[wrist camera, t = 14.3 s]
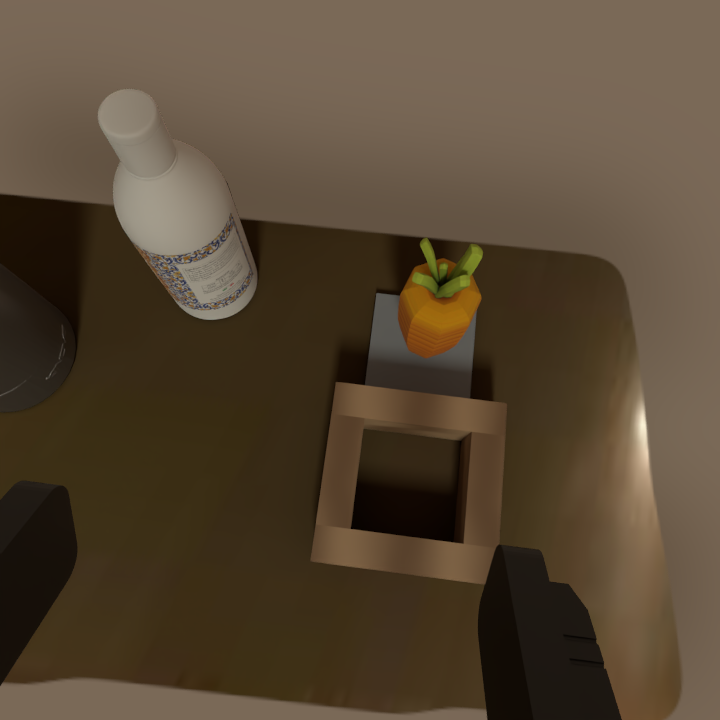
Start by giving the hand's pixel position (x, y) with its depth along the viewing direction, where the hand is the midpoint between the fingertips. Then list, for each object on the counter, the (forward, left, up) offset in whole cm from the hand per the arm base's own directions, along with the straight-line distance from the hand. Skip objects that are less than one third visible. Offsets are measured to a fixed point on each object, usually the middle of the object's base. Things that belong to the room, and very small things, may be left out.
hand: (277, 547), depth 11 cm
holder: (+5, +5, -33) cm, 33 cm away
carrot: (+5, +15, -32) cm, 36 cm away
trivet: (+5, +15, -33) cm, 36 cm away
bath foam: (-12, +19, -33) cm, 40 cm away
